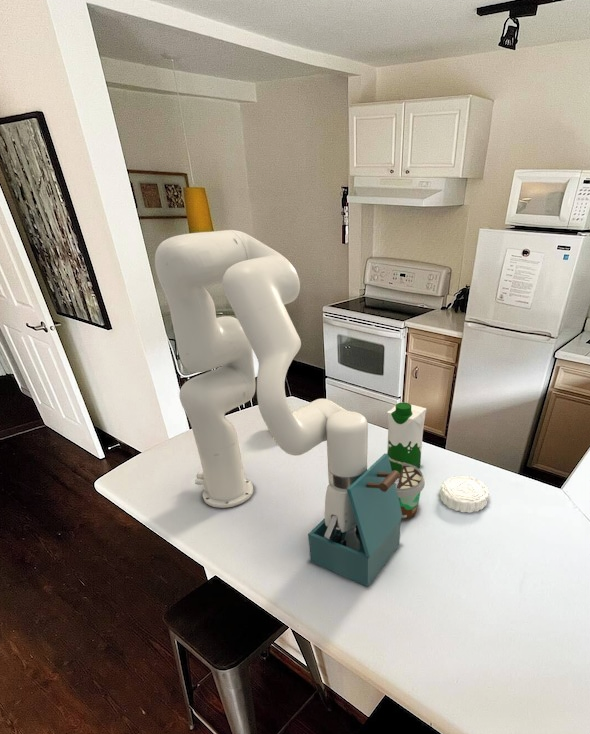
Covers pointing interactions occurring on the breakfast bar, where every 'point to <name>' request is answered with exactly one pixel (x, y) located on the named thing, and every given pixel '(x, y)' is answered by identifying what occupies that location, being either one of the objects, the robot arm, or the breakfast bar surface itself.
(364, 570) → the teal hinged box
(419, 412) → the milk carton
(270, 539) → the breakfast bar surface
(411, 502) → the food container
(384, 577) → the breakfast bar surface
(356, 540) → the rook chess piece
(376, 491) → the lid
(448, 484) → the mooncake
